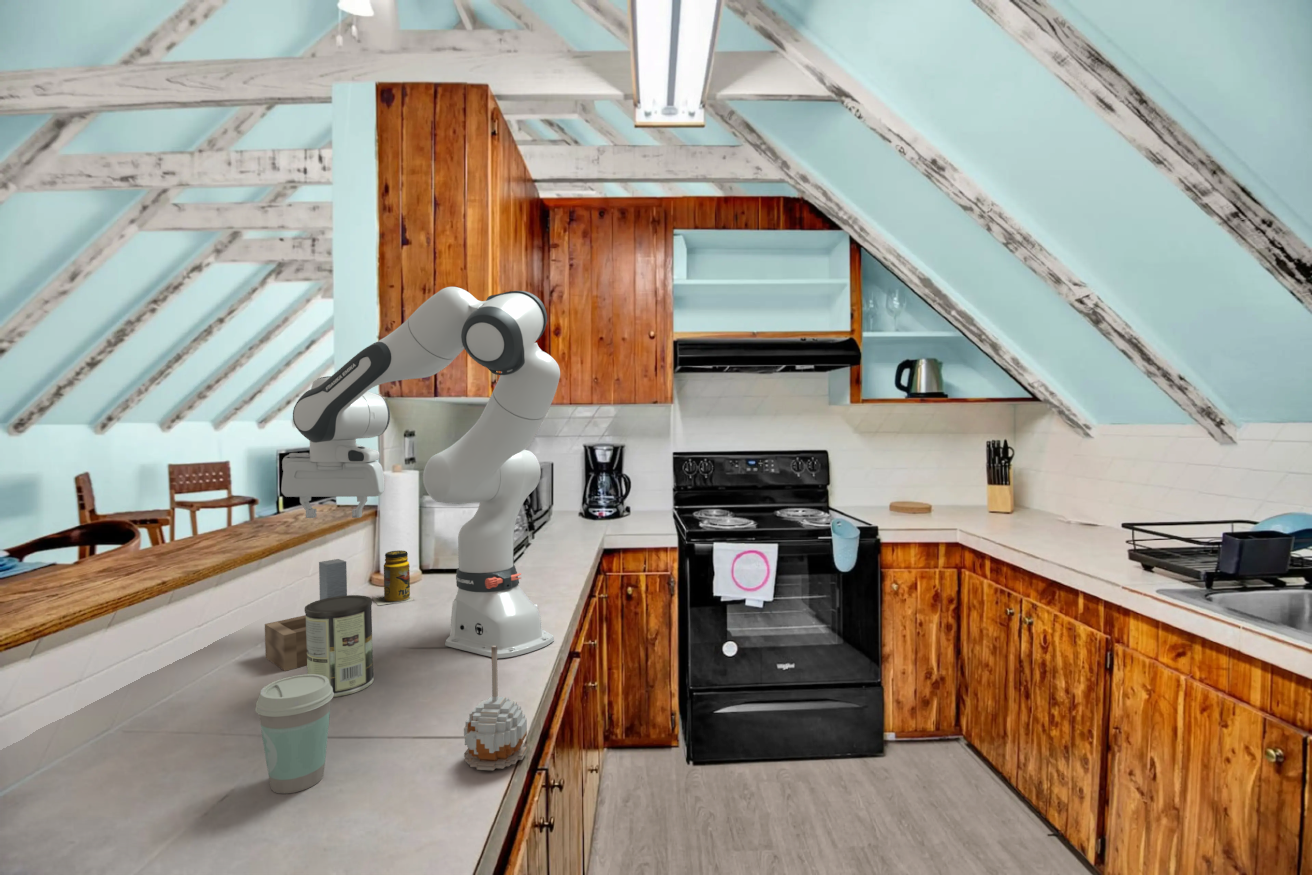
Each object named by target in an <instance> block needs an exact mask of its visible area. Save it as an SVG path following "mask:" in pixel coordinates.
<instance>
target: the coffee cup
mask: <svg viewBox="0 0 1312 875" xmlns="http://www.w3.org/2000/svg"><path fill="white" fill-rule="evenodd" d="M333 696H334V692H333V688H332V686H331V685H330V683H329V680H328V678H327V677H325V676H323V675H317V674H308V673H307V674H306V673H305V674H299V675H297V674H296V675H293V676H287V677H284V678H280V679H278V680H275V681H273V682H270V683H269V684H267V685H265V686H263V688H261V690H260V691H259V695H258V698H257V700H256V702H255V705H256V706H255V709H254V710H255V713H256V714H258V718H259V725H260V730H261V737H262V742H263V743H262V744H263V748H264V749H263V750H264V754H265V756H264V757H265V761H266V762H265V763H266V767H267V774H268V780H269V786H270V789H271V791H272V792H274V793H277V794H285V795H286V794H293V793H297V792H302V791H304V790H307V789H309V788H312V787H314V786H315V785H316V784H318V783H319V782H320V781H322V779H323V778H324V773H325V766H326V755H327V746H328V745H327V744H328V735H329V724H330V715H331V714H330V713H331V705H332V700H333V698H334V697H333Z"/></svg>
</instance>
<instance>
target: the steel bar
mask: <svg viewBox="0 0 1312 875" xmlns="http://www.w3.org/2000/svg"><path fill="white" fill-rule="evenodd" d="M318 572H319V574H318V577H319V578H318V580H319V582H318V583H319V600H322V599H326V598H331V597H337V596H347V595H348V585H347V583H348V575H347V574H348V572H347V561H346V560H343V559H340V558H336V559H335V558H334V559H329V560H322V561H318Z"/></svg>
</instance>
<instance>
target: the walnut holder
mask: <svg viewBox="0 0 1312 875" xmlns="http://www.w3.org/2000/svg"><path fill="white" fill-rule="evenodd" d="M264 640H265V641H264V644H265V645H264V646H265V651H264V652H265V659H267V660H268V661H269V662H271V663H272V664H274V665H275V666H277V667H278V668H280V669H281V670H283V671H284V672H288V671H291V670H294V669H298V668H301V667H305V666H306V667H307V640H306V614H305V615H301V616H296V617H292V618H286V619H282V620H278V621H272V622H268V623H265V624H264Z"/></svg>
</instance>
